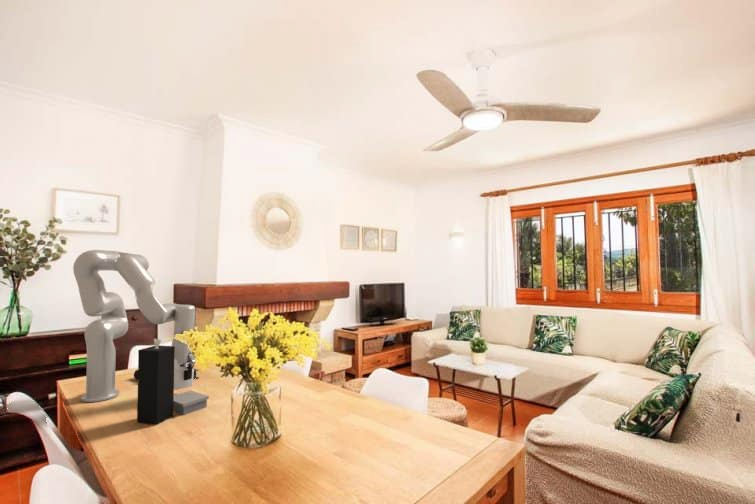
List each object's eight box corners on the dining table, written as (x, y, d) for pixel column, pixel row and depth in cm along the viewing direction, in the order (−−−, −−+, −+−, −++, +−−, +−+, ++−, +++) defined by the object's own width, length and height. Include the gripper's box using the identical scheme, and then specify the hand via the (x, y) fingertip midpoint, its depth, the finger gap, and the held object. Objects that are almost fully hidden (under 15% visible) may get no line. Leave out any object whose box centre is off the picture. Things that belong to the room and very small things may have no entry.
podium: (164, 408, 140) (164, 398, 140) (190, 400, 148) (190, 390, 148) (183, 415, 133) (183, 404, 133) (208, 406, 142) (208, 396, 142)
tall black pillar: (156, 425, 125) (158, 341, 126) (136, 423, 127) (138, 340, 128) (173, 416, 133) (175, 337, 134) (154, 414, 135) (156, 336, 136)
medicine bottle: (187, 382, 159) (188, 353, 160) (193, 386, 154) (194, 357, 154) (168, 385, 154) (170, 356, 155) (174, 390, 149) (175, 359, 150)
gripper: (163, 333, 156) (160, 375, 156) (187, 339, 147) (184, 383, 146) (180, 331, 163) (178, 371, 162) (204, 336, 153) (202, 379, 153)
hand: (181, 377), depth 154 cm, fingers closed on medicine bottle, 8 cm apart
